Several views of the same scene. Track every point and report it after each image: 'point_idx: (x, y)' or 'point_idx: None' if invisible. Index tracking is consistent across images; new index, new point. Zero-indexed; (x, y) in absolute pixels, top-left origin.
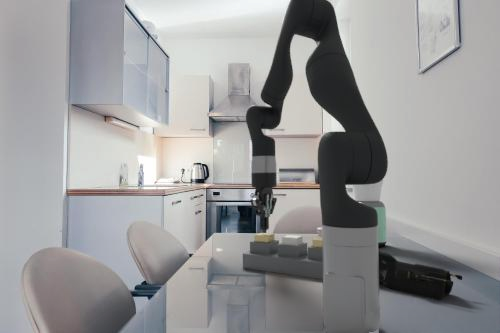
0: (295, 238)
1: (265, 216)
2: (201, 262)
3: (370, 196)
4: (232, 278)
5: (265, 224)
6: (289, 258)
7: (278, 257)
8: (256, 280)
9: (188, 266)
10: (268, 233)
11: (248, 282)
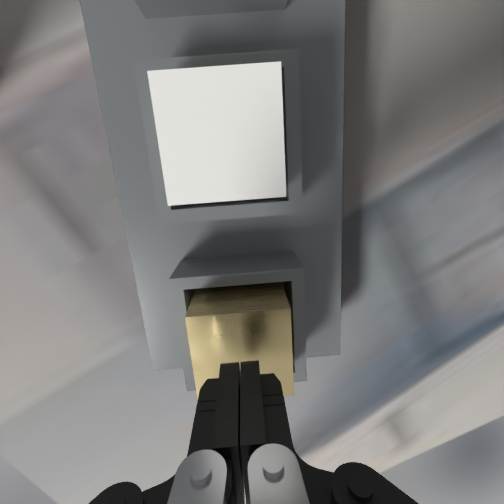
0: (279, 74)
1: (292, 456)
2: (328, 463)
3: None
4: (460, 272)
5: (261, 395)
6: (330, 111)
7: (336, 174)
8: (451, 188)
9: (390, 460)
10: (197, 355)
11: (484, 199)
